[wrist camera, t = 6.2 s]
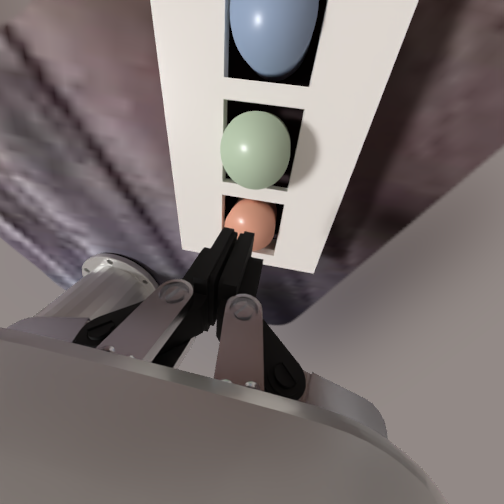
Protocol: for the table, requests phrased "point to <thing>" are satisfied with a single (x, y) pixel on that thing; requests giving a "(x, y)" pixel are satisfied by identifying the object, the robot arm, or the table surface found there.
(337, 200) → the button box
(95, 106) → the table surface
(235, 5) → the slate button
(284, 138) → the sage button
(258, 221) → the terracotta button
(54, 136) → the table surface
